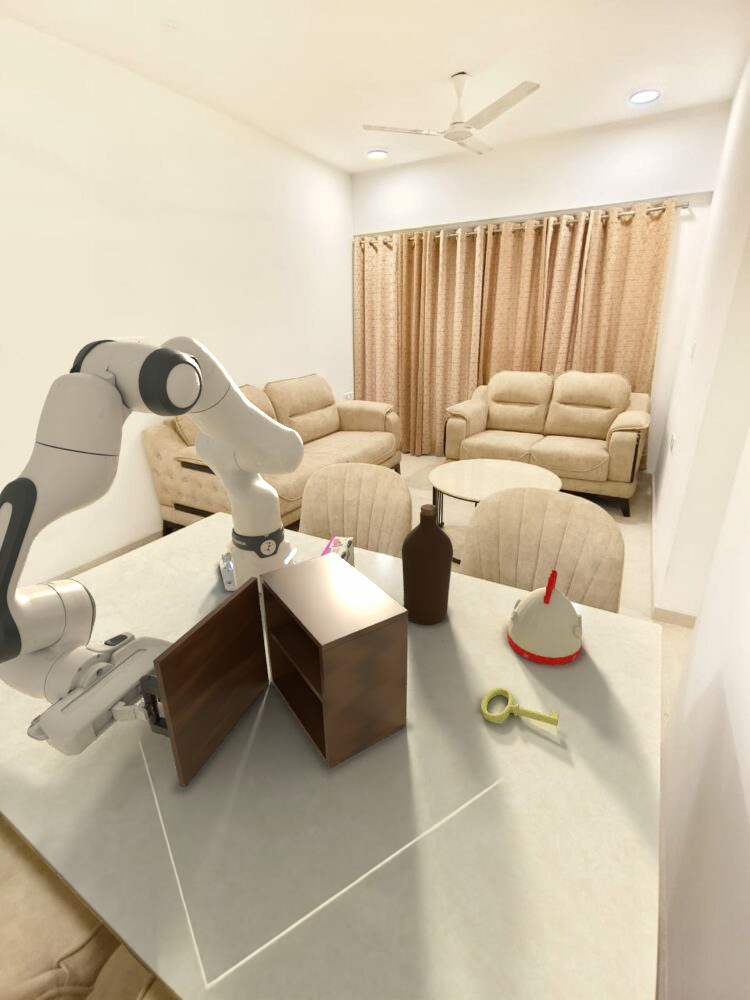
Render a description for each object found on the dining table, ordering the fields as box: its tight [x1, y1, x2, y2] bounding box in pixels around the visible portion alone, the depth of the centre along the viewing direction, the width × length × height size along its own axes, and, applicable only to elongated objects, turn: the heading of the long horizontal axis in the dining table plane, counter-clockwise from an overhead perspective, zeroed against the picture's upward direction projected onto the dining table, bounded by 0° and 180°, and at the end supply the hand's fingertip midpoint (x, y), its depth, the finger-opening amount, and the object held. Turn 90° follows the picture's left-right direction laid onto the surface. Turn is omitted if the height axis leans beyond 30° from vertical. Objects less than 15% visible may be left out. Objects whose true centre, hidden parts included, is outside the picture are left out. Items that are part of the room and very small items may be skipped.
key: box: [480, 687, 560, 727], centre depth 83 cm, size 7×12×2 cm, turn 78°
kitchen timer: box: [506, 569, 583, 666], centre depth 97 cm, size 14×14×15 cm
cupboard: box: [259, 552, 409, 770], centre depth 81 cm, size 14×22×22 cm, turn 33°
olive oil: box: [401, 503, 454, 626], centre depth 105 cm, size 11×11×25 cm
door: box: [139, 577, 270, 788], centre depth 77 cm, size 7×22×22 cm, turn 159°
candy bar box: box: [320, 535, 356, 569], centre depth 106 cm, size 11×5×16 cm, turn 168°
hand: (158, 704), depth 70 cm, fingers closed
